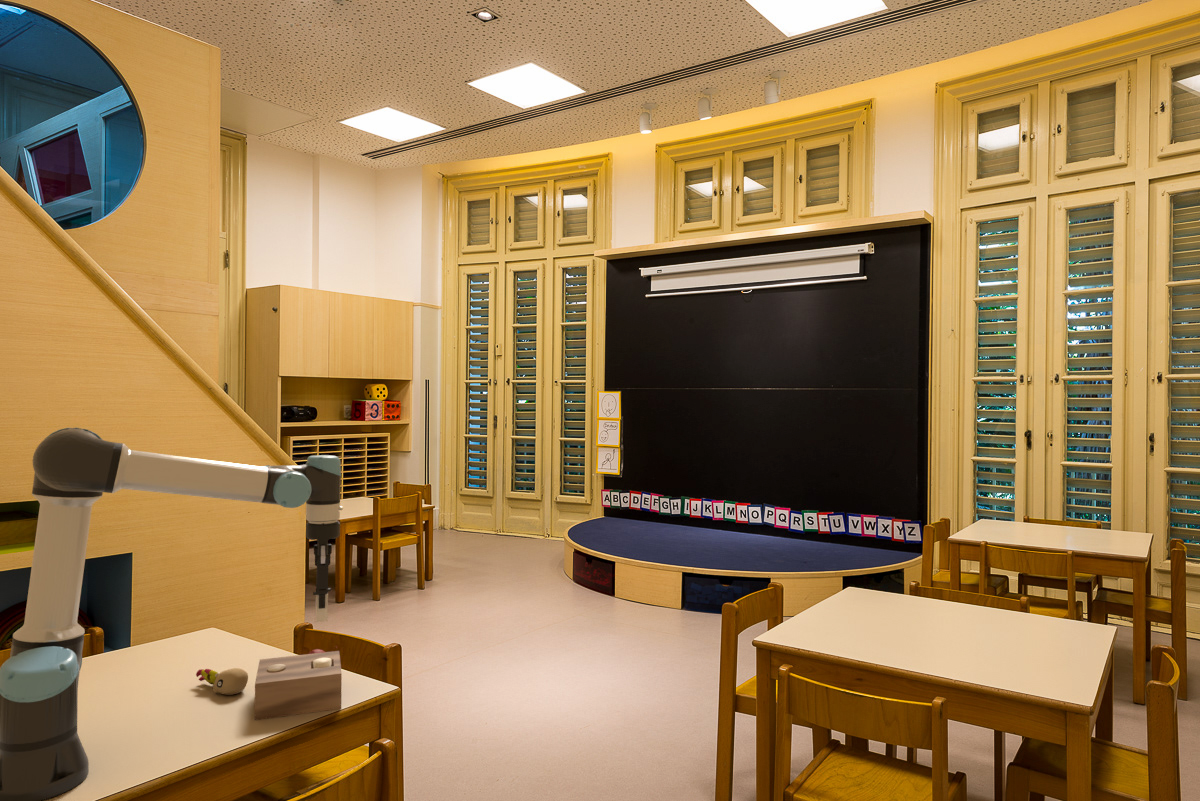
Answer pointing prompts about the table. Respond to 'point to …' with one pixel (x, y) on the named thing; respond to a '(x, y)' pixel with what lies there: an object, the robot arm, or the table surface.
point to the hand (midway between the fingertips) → (321, 620)
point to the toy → (225, 680)
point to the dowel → (322, 662)
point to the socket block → (297, 685)
